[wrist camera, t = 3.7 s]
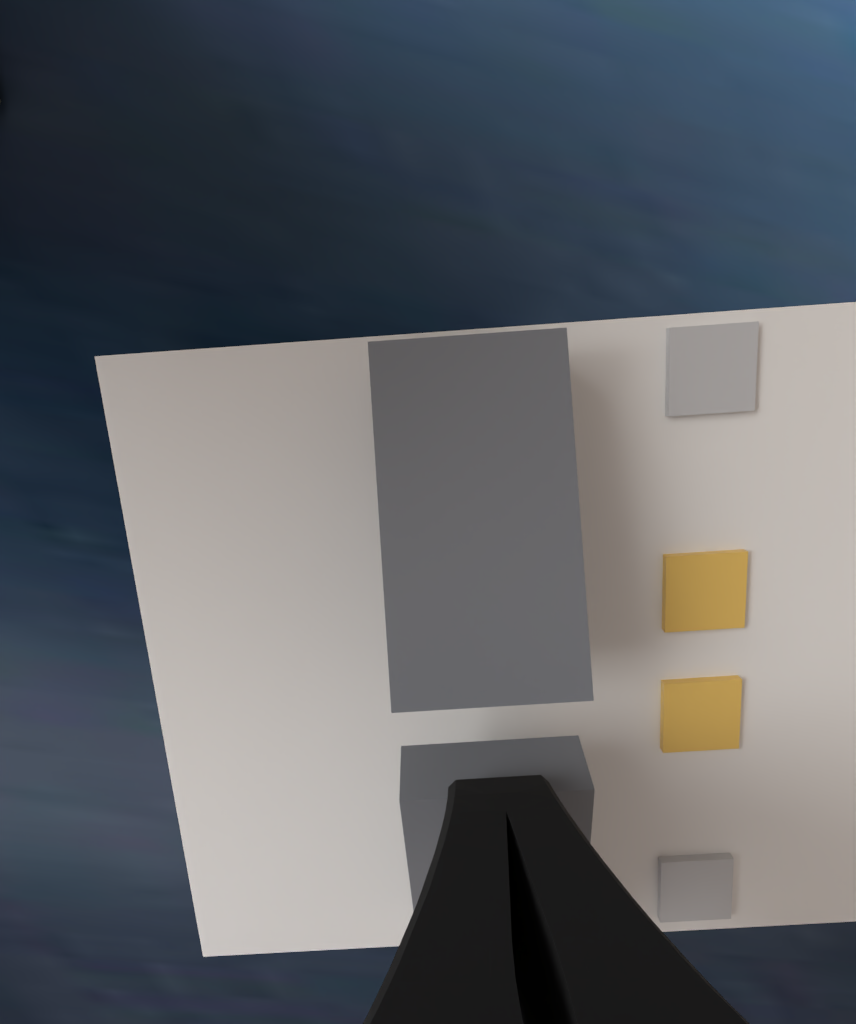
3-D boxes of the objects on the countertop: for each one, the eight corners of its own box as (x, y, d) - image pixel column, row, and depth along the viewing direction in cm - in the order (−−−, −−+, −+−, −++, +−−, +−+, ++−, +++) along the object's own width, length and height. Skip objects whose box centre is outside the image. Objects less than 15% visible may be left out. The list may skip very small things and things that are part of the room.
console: (819, 829, 15) (902, 925, 12) (239, 862, 15) (200, 963, 12) (862, 310, 12) (978, 292, 10) (160, 360, 12) (89, 356, 10)
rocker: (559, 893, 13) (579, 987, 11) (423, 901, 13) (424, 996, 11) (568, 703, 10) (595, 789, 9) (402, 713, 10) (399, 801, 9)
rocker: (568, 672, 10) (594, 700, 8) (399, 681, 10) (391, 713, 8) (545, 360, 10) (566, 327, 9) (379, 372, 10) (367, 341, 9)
